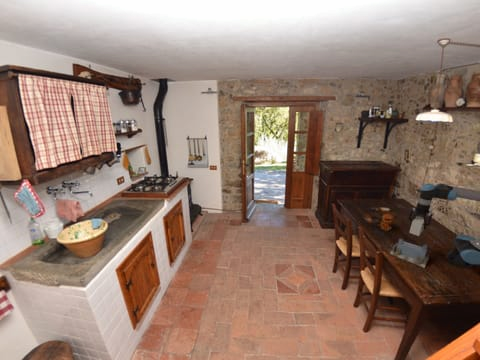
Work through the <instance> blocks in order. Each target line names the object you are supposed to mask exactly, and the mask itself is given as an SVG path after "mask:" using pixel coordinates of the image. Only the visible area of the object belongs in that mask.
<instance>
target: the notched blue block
mask: <svg viewBox="0 0 480 360" xmlns="http://www.w3.org/2000/svg"><path fill="white" fill-rule="evenodd" d="M397 243H398V245H397V248H399V249H401V250H400V253H399V254H401V255H404V256H407V257H410V258H413V259H416V260H417V257H418V256H419V257H422V259H421V262H423V261H424V257H425V256H426V255H427V250H428V249H427V248H428V245H427V244H423V245H422V246H421V245H417V244H414V243H411V242H407V241H405V240H403V239H402V238H399V239H398V242H397Z"/></svg>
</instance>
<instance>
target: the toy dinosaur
mask: <svg viewBox="0 0 480 360" xmlns="http://www.w3.org/2000/svg"><path fill="white" fill-rule="evenodd" d="M381 220H382V221H381V222H380V224H379V227H380V229H381V230H382V229H383V230H382V231H385V232H388V231H390V230H392V226H391V225H392V223H393V222H394V216H393V214H392V213H391V214H390V213H384V214H383V215H382V217H381Z"/></svg>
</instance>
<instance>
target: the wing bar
mask: <svg viewBox="0 0 480 360" xmlns="http://www.w3.org/2000/svg"><path fill="white" fill-rule="evenodd" d="M423 224H424V218H423V216H418V215H417V216H416V218H415V219H414V220H413V221H412V225H410V229H409V234H412V235H415V236H418V237H419V236H420V235H421V230H422V227H423Z"/></svg>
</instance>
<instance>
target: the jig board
mask: <svg viewBox="0 0 480 360" xmlns="http://www.w3.org/2000/svg"><path fill="white" fill-rule="evenodd" d="M397 246H398V242H396V243H394V245H393V246H392V248H391V251H390V252H389V254H390V255H392V256H393V257H394V256H395V257H396V258H398V259H399V258H400V259H402V260H405V261H407V262H410V263H411V264H413V265H416V266H419V267H421V268H422V269H423V268H424V269H425V268H426V265H427V264H428V261H429V259H430V254H427V253H426V255H425V257H424V261H423V262H421V259H422V257H419V256H418V257H417V260H416V259H413V258H410V257H407V256H404V255H401V254H399V253H400V250H401V249H399V248H397Z"/></svg>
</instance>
